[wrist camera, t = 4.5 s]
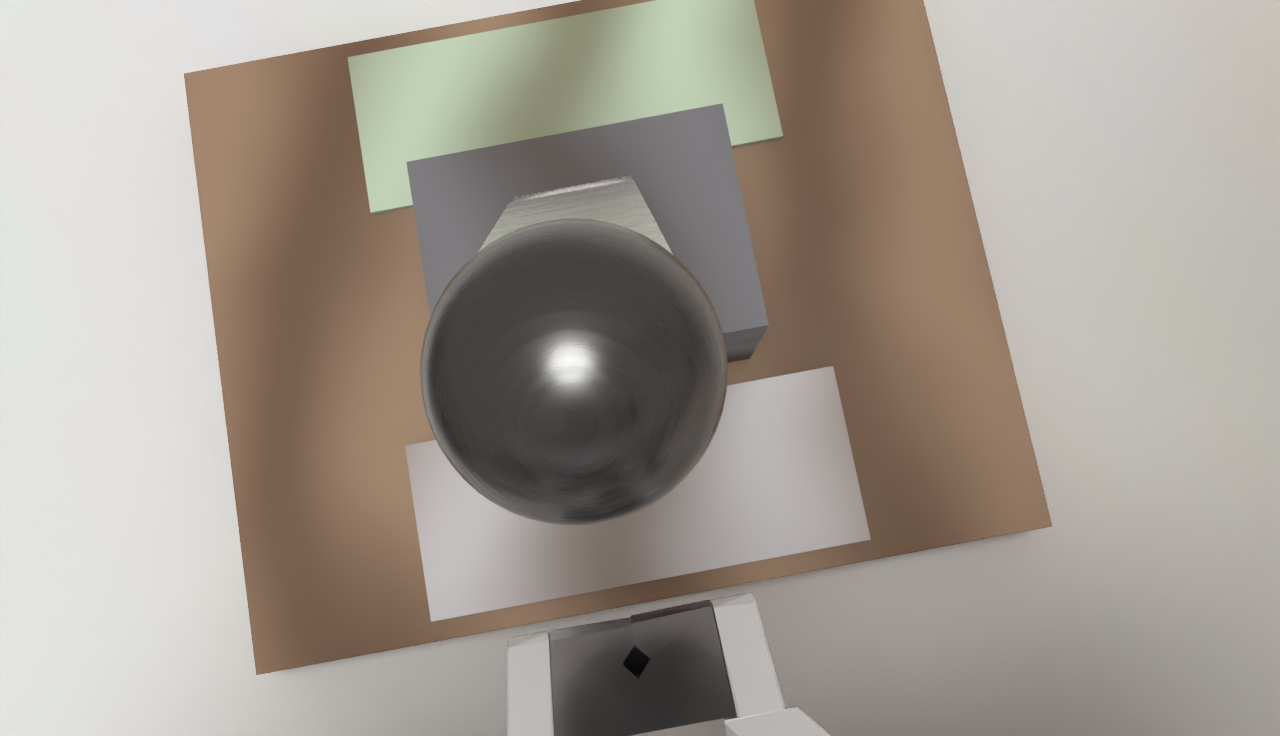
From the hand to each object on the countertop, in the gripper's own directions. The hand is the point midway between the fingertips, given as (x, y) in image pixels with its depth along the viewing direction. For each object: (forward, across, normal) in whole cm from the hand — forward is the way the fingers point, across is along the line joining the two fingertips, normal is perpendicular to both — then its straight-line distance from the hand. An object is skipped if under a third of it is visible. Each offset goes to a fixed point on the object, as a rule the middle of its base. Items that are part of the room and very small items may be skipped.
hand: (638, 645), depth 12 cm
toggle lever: (+10, 0, 0) cm, 10 cm away
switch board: (+15, 0, +5) cm, 16 cm away
